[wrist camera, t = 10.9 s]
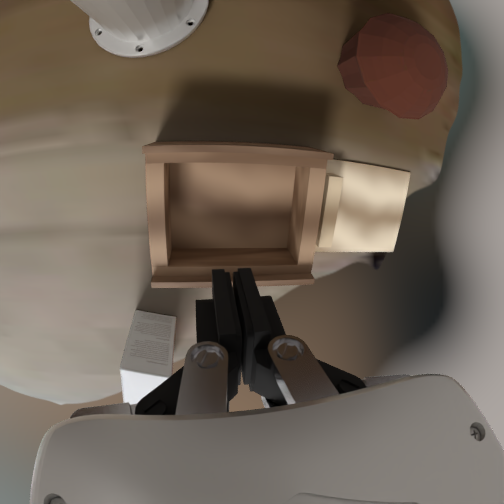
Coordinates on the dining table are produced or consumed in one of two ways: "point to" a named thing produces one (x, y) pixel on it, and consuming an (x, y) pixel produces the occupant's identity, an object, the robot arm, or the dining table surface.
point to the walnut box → (232, 211)
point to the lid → (361, 207)
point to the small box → (147, 355)
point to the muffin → (395, 66)
